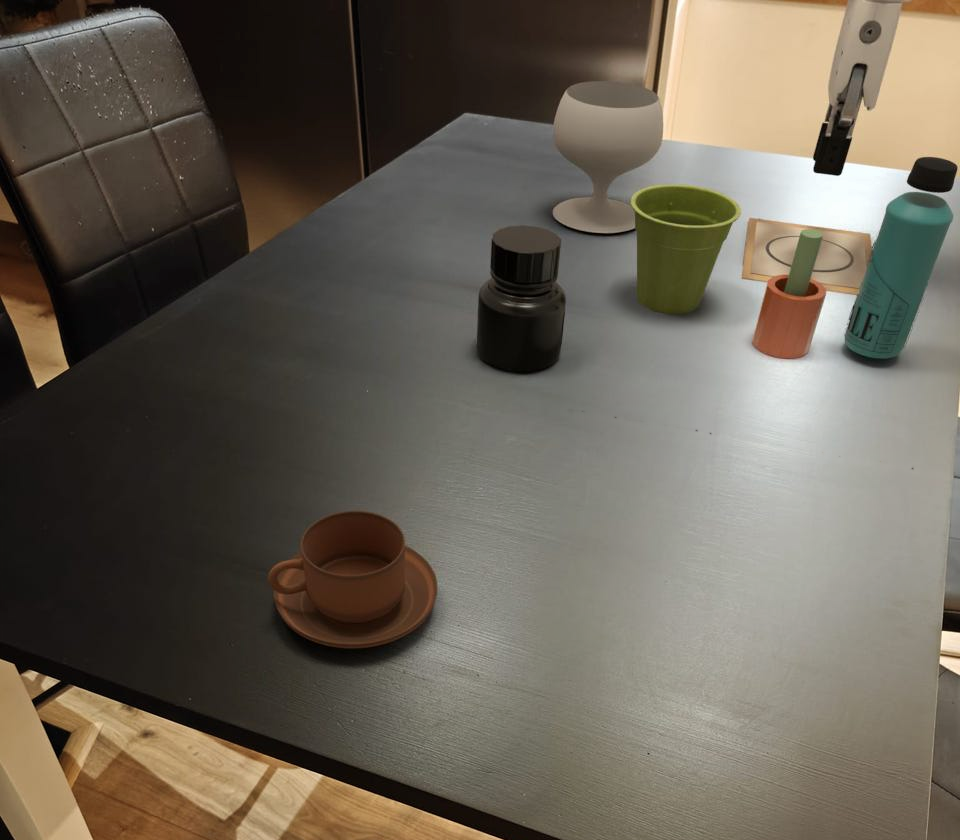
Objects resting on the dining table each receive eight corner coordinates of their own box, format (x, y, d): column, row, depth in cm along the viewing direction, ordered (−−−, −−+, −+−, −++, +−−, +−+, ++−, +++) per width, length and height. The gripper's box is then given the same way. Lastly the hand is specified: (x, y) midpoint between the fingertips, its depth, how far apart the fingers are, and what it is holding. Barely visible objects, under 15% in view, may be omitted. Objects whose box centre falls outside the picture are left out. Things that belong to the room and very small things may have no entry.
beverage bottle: (908, 357, 102) (986, 161, 88) (882, 379, 98) (958, 178, 84) (853, 337, 105) (919, 144, 90) (825, 357, 101) (890, 160, 87)
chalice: (621, 247, 120) (640, 119, 109) (526, 221, 125) (535, 96, 114) (665, 214, 128) (686, 92, 118) (575, 191, 133) (587, 72, 123)
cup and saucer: (326, 687, 64) (319, 623, 60) (248, 590, 71) (237, 526, 67) (468, 621, 70) (471, 557, 65) (383, 536, 76) (380, 473, 72)
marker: (790, 341, 102) (823, 230, 94) (790, 351, 101) (823, 238, 92) (770, 338, 102) (801, 227, 94) (769, 348, 101) (800, 235, 93)
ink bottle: (578, 351, 100) (592, 237, 91) (535, 384, 95) (545, 267, 86) (502, 324, 103) (509, 213, 95) (456, 355, 98) (459, 239, 90)
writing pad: (868, 238, 125) (870, 232, 125) (875, 301, 111) (878, 295, 111) (748, 221, 128) (749, 216, 127) (740, 282, 114) (742, 275, 113)
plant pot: (596, 292, 110) (609, 192, 102) (678, 275, 114) (697, 178, 106) (654, 336, 103) (673, 232, 95) (739, 316, 107) (764, 215, 99)
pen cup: (806, 340, 104) (826, 278, 99) (806, 366, 99) (826, 303, 94) (752, 332, 104) (768, 270, 100) (749, 358, 100) (766, 295, 95)
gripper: (925, -2, 90) (862, 196, 103) (912, -33, 101) (856, 149, 114) (845, -10, 91) (793, 187, 104) (841, -40, 102) (794, 141, 115)
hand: (826, 165), depth 109 cm, fingers open, 3 cm apart
